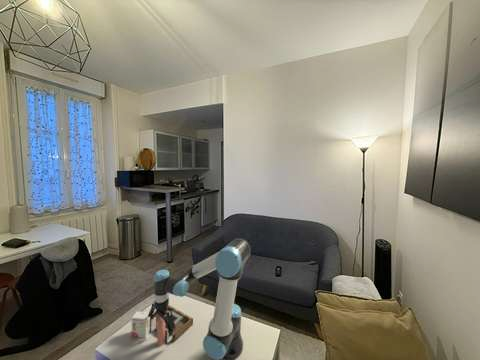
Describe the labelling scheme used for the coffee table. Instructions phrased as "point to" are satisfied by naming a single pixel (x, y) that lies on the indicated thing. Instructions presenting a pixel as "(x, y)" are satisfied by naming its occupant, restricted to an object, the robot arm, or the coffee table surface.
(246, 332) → the coffee table surface
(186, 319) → the tray
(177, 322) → the socket
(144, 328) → the ink box
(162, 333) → the peg
